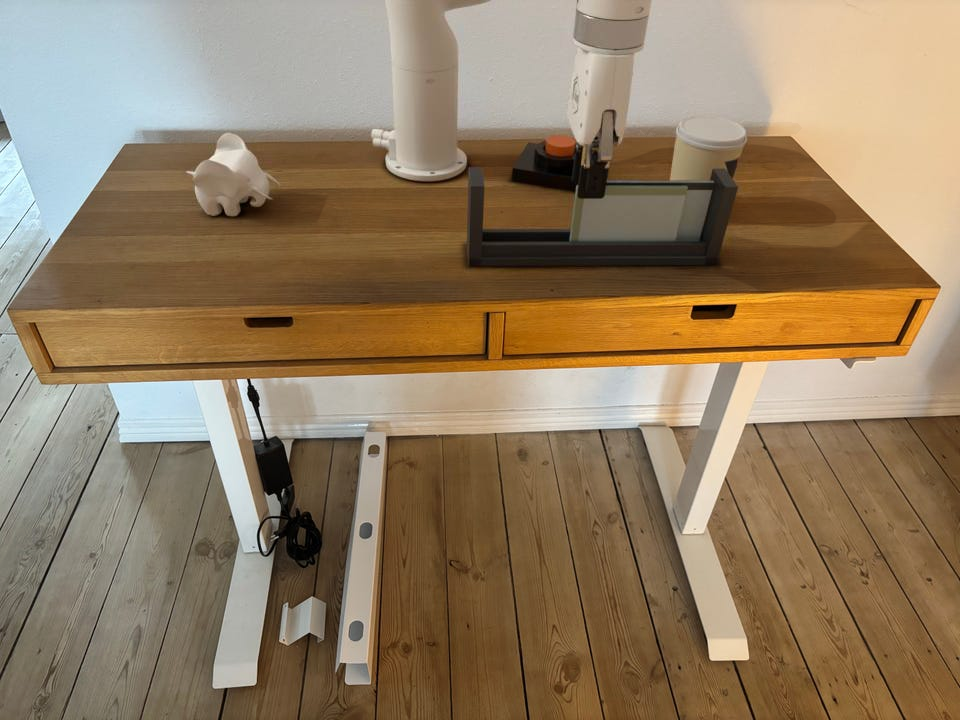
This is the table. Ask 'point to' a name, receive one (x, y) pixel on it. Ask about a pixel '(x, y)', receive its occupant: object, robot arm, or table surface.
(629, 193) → the sliding pane
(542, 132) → the table surface
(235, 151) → the elephant figurine
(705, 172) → the coffee cup
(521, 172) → the switch box
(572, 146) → the button
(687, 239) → the window frame
